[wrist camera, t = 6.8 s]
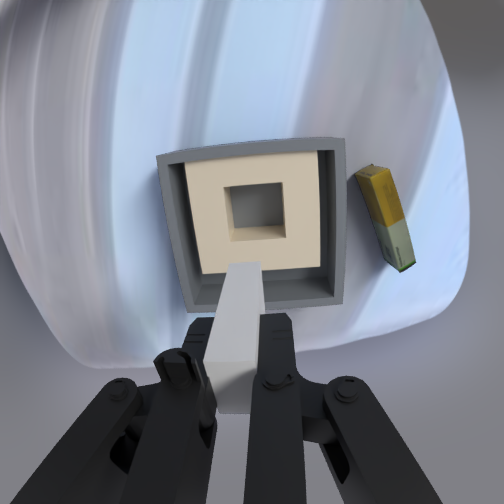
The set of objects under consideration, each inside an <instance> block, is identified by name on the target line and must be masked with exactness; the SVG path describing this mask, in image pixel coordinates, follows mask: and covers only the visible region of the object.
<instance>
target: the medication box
mask: <svg viewBox="0 0 504 504" xmlns="http://www.w3.org/2000/svg"><path fill="white" fill-rule="evenodd" d="M355 176H356V178H357V181H358V183H359V186H360V189H361V191H362V194H363V197H364V199H365V202H366V205H367V208H368V210H369V213H370V216H371V219H372V222H373V225H374V228H375V231H376V234H377V237H378V240H379V243H380V246H381V250H382V253H383V256H384V259H385V260H386V261H387V262H388V263H389V264H390V265H391V266H392V267H394V268H395V269H396V270H398V271H399V272H400V273H401V272H403V271H405V270H407V269H408V268H410V267H411V266H412V265H414V264H415V263H416V260H415V255H414V251H413V247H412V242H411V238H410V235H409V231H408V227H407V223H406V220H405V216H404V213H403V209H402V206H401V203H400V199H399V196H398V193H397V190H396V187H395V184H394V181H393V178H392V175H391V172H390V169H388V168H383V167H379V166H374V165H373V164H371V165H370V166H368V167H365V168H363V169H361V170H360V171H358V172H357V173H355Z"/></svg>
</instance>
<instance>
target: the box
mask: <svg viewBox="0 0 504 504" xmlns="http://www.w3.org/2000/svg"><path fill="white" fill-rule="evenodd" d="M156 159H157V166H158V173H159V179H160V185H161V191H162V197H163V203H164V209H165V214H166V219H167V225H168V230H169V235H170V240H171V245H172V249H173V254H174V259H175V263H176V268H177V272H178V277H179V281H180V285H181V289H182V293H183V297H184V302H185V306H186V309H187V313H202V312H216V310H217V307H218V303H219V299H220V296H221V292H222V288H223V284H224V281H225V277H226V274H227V270H228V266H229V263H241V262H256V261H261V271H262V282H263V292H264V303H265V310H274V309H289V308H303V307H316V306H327V305H338V304H343V292H344V277H345V257H346V224H347V185H346V152H345V139H344V138H334V137H316V138H291V139H274V140H261V141H249V142H239V143H230V144H221V145H213V146H206V147H199V148H192V149H185V150H179V151H173V152H169V153H165V154H162V155H158V156H156Z"/></svg>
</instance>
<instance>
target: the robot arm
mask: <svg viewBox="0 0 504 504" xmlns="http://www.w3.org/2000/svg"><path fill="white" fill-rule="evenodd" d="M153 362H154V365H155V367H156V369H157V371H158V374H159V376H160V378H161V382H159V383H155V384H151V385H145V386H139V387H137V386H136V384H135V382H134V381H132V380H131V379H128V378H117V379H114V380H112V381H110V382H108V383H107V384H106V385H105V386H104V387H103V388H102V389H101V391H100V392H99V393H98V394H97V395H96V397H95V398H94V399H93V400H92V401H91V403H90V404H89V405H88V406H87V407H86V409H85V410H84V411H83V412H82V413H81V415H80V416H79V417H78V418H77V419H76V421H75V422H74V423H73V424H72V426H71V427H70V428H69V429H68V430H67V432H66V433H65V434H64V435H63V437H62V438H61V439H60V440H59V442H58V443H57V444H56V445H55V446H54V448H53V449H52V450H51V452H50V453H49V454H48V455H47V457H46V458H45V459H44V460H43V462H42V463H41V464H40V465H39V467H38V468H37V469H36V470H35V472H34V473H33V474H32V476H31V477H30V478H29V479H28V481H27V482H26V483H25V485H24V486H23V487H22V488H21V490H20V491H19V492H18V494H17V495H16V496H15V498H14V499H13V501H12V502H11V503H10V504H206V497H207V491H208V484H209V478H210V471H211V464H212V458H213V452H214V445H215V438H216V432H217V420H216V418H215V413H216V408H218V411H219V413H222V414H250V427H249V440H248V454H247V466H246V479H245V491H244V503H243V504H307V503H306V480H305V462H304V446H303V440H304V441H310V442H315V443H319V446H320V448H321V450H322V453H323V455H324V457H325V459H326V462H327V464H328V467H329V469H330V471H331V474H332V476H333V478H334V481H335V483H336V485H337V487H338V490H339V492H340V494H341V497H342V499H343V501H344V504H443V503H442V502H441V500H440V498H439V497H438V495H437V493H436V492H435V490H434V488H433V487H432V485H431V484H430V482H429V480H428V479H427V477H426V475H425V474H424V472H423V471H422V469H421V467H420V466H419V464H418V463H417V461H416V459H415V458H414V456H413V455H412V453H411V451H410V450H409V448H408V447H407V445H406V443H405V442H404V441H403V439H402V437H401V436H400V434H399V433H398V431H397V430H396V428H395V426H394V425H393V423H392V422H391V420H390V419H389V417H388V415H387V414H386V412H385V411H384V409H383V408H382V406H381V405H380V403H379V402H378V400H377V399H376V397H375V396H374V394H373V393H372V391H371V390H370V388H369V386H368V385H367V384H366V383H365V382H364V381H363V380H361V379H359V378H356V377H353V376H342V377H337V378H335V379H333V380H332V381H330V382H329V383H328V384H320V383H314V382H311V381H308V380H306V379H305V378H303V377H302V376H301V375H300V374H299V372H298V371H297V368H296V360H295V350H294V340H293V331H292V321H291V319H290V318H289V317H288V316H287V314H286V313H276V314H265V303H264V292H263V282H262V271H261V261H256V262H241V263H229V266H228V270H227V274H226V277H225V281H224V284H223V288H222V292H221V296H220V299H219V303H218V307H217V310H216V314H215V317H201V318H197V319H196V320H195V321H194V322H193V323H192V324H191V325H190V326H189V329H188V332H187V336H186V337H185V340H184V343H183V345H182V348H173V349H169V350H166V351H163V352H162V353H161V354H159V355H158V356H157V357H156V358H155V360H154V361H153Z"/></svg>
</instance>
